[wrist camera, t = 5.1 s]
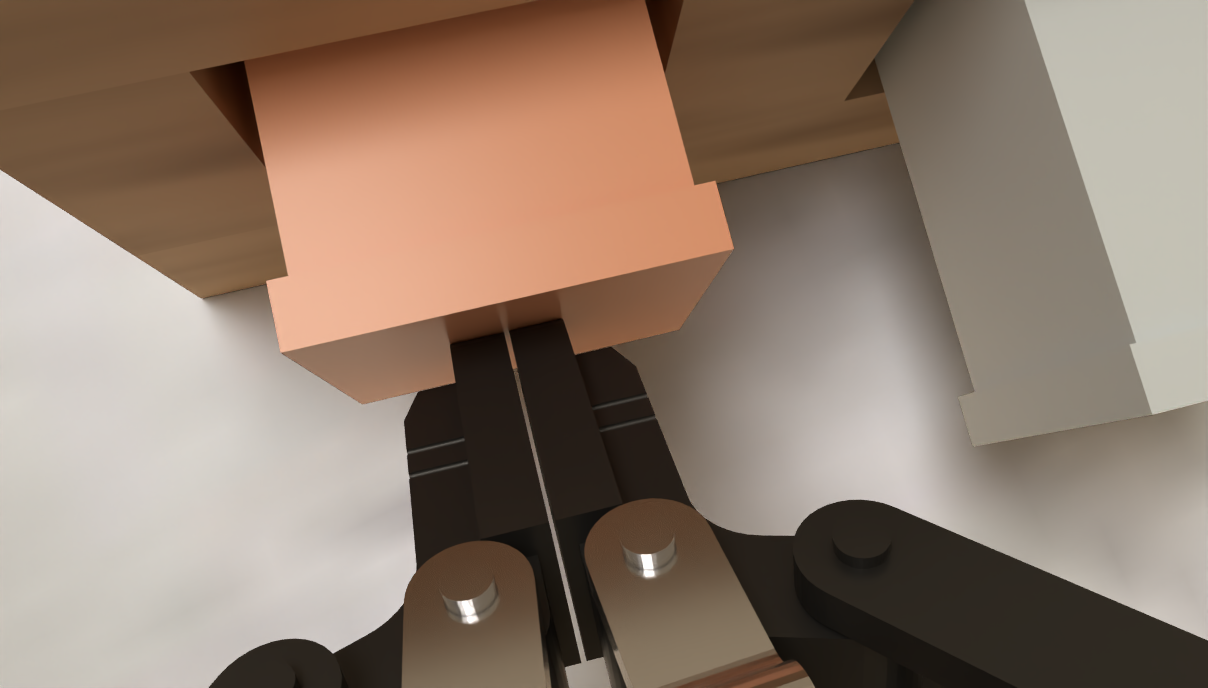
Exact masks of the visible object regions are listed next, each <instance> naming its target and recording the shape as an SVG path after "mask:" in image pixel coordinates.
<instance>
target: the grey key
mask: <svg viewBox="0 0 1208 688" xmlns="http://www.w3.org/2000/svg"><path fill="white" fill-rule="evenodd" d="M874 59H875V62H876V65H877V69H878V72H879V75H880V79H881V82H882V85H883V89H884V92H885V95H886V99H887V102H888V105H889V109H890V112H891V115H892V119H893V122H894V125H895V129H896V132H897V135H898V139H899V142H900V145H901V149H902V152H903V155H904V159H905V162H906V165H907V168H908V172H909V175H910V178H911V182H912V185H913V188H914V192H915V195H916V198H917V202H918V205H919V208H920V212H921V215H922V218H923V222H924V225H925V228H926V232H927V235H928V238H929V242H930V245H931V248H932V252H933V255H934V258H935V262H936V265H937V268H938V272H939V275H940V278H941V282H942V285H943V288H944V291H945V295H946V298H947V301H948V305H949V308H950V311H951V315H952V318H953V321H954V325H955V328H956V331H957V335H958V338H959V341H960V345H961V348H962V351H963V355H964V358H965V361H966V365H967V368H968V371H969V375H970V378H971V381H972V385H973V388H974V391H975V392H973V393H969V394H966V395H963V396H959V397H958V399H959V402H960V406H961V409H962V413H963V416H964V419H965V423H966V426H967V429H968V433H969V436H970V439H971V443H972V446H973V447H974V446H979V445H985V444H991V443H996V442H1002V441H1008V440H1013V439H1019V438H1025V437H1030V436H1036V435H1041V434H1047V433H1053V432H1058V431H1064V430H1070V429H1075V428H1081V427H1087V426H1092V425H1098V424H1103V423H1109V422H1115V421H1120V420H1126V419H1132V418H1137V417H1143V416H1149V415H1154V414H1158V413H1162V412H1166V411H1169V410H1173V409H1177V408H1181V407H1185V406H1189V405H1193V404H1197V403H1201V402H1205V401H1208V0H915V1H914V2H913V3H912V5H911V6H910V8H909V9H908V11H907V12H906V13H905V15H904V16H903V18H902V19H901V21H900V22H899V23H898V25H897V26H896V28H895V29H894V31H893V32H892V33H891V35H890V36H889V38H888V39H887V41H886V42H885V43H884V45H883V46H882V48H881V49H880V51H879V52H878V53H877V55H876V56H875V58H874Z"/></svg>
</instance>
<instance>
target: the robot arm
mask: <svg viewBox="0 0 1208 688" xmlns="http://www.w3.org/2000/svg"><path fill="white" fill-rule="evenodd" d="M509 334H510V338H511V343H512V347H513V352H514V356H515V360H516V365H517V369H518V373H519V378H520V382H521V387H522V391H523V395H524V400H525V404H526V409H527V413H528V417H529V422H530V426H531V431H532V435H533V439H534V443H535V448H536V452H537V456H538V461H539V465H540V469H541V473H542V477H543V481H544V486H545V490H546V494H547V498H548V502H549V506H550V510H551V515H552V519H553V523H554V527H555V531H556V535H557V540H558V544H559V548H560V552H561V556H562V560H563V564H564V569H565V573H566V577H567V581H568V585H569V589H570V594H571V598H572V602H573V606H574V610H575V614H576V618H577V623H578V627H579V631H580V635H581V639H582V643H583V648H584V652H585V656H586V660H587V661H589V660H593V659H596V658H600V657H604V659H605V663H606V667H607V671H608V675H609V679H610V683H611V687H612V688H1208V640H1205V639H1203V638H1201V637H1198V636H1196V635H1193V634H1191V633H1189V632H1186V631H1184V630H1182V629H1179V628H1177V627H1175V626H1172V625H1170V624H1168V623H1165V622H1163V621H1161V620H1158V619H1156V618H1154V617H1151V616H1149V615H1146V614H1144V613H1142V612H1139V611H1137V610H1135V609H1132V608H1130V607H1128V606H1125V605H1123V604H1121V603H1118V602H1116V601H1114V600H1111V599H1109V598H1107V597H1104V596H1102V595H1099V594H1097V593H1095V592H1092V591H1090V590H1088V589H1085V588H1083V587H1081V586H1078V585H1076V584H1074V583H1071V582H1069V581H1067V580H1064V579H1062V578H1060V577H1057V576H1055V575H1052V574H1050V573H1048V572H1045V571H1043V570H1041V569H1038V568H1036V567H1034V566H1031V565H1029V564H1027V563H1024V562H1022V561H1020V560H1017V559H1015V558H1013V557H1010V556H1008V555H1005V554H1003V553H1001V552H998V551H996V550H994V549H991V548H989V547H987V546H984V545H982V544H980V543H977V542H975V541H973V540H970V539H968V538H966V537H963V536H961V535H958V534H956V533H954V532H951V531H949V530H947V529H944V528H942V527H940V526H937V525H935V524H933V523H930V522H928V521H926V520H923V519H921V518H919V517H916V516H914V515H912V514H909V513H907V512H904V511H902V510H900V509H897V508H895V507H892V506H890V505H887V504H884V503H880V502H875V501H868V500H847V501H840V502H836V503H832V504H829V505H826V506H824V507H822V508H820V509H818V510H816V511H815V512H813V513H812V514H810V515H809V516H808V517H807V518H806V519H805V520H804V521H803V522H802V523H801V525H800V526H799V528H798V529H797V531H796V534H795V536H760V535H747V534H742V533H736V532H733V531H730V530H726V529H724V528H721V527H719V526H717V525H715V524H713V523H711V522H710V521H708V520H707V519H705V518H704V517H703V516H702V515H701V514H700V513H699V512H697V510H696V509H695V508H694V507H693V505H692V504H691V502H690V500H689V498H688V496H687V494H686V491H685V489H684V486H683V484H682V481H681V479H680V476H679V474H678V471H677V469H676V466H675V464H674V461H673V459H672V456H671V454H670V451H669V449H668V446H667V444H666V441H665V439H664V436H663V434H662V431H661V429H660V426H659V424H658V421H657V420H656V418H655V413H654V411H653V408H652V406H651V403H650V401H649V398H647V394H646V391H645V388H644V386H643V383H642V381H641V378H640V376H639V373H638V371H637V368H636V366H635V365H633V364H632V363H631V362H630V361H628V360H627V359H626V358H625V357H623V356H622V355H621V354H620V353H618V352H617V351H616V350H614V349H613V348H612V347H607V348H603V349H599V350H594V351H590V352H586V353H581V354H577V355H575V354H574V351H573V348H572V345H571V342H570V338H569V335H568V332H567V329H566V326H565V323H564V320H563V319H558V320H554V321H550V322H545V323H541V324H537V325H532V326H528V327H524V328H519V329H515V330H511V331H509ZM450 351H451V357H452V364H453V370H454V376H455V383H454V384H449V385H445V386H441V387H436V388H432V389H428V390H424V391H419V392H418V393H417V395H416V397H415V399H414V401H413V403H412V405H411V408H410V410H409V412H408V414H407V416H406V418H405V420H404V426H405V437H406V449H407V453H408V455H407V460H408V472H409V477H410V479H409V483H410V494H411V506H412V517H413V529H414V540H415V551H416V563H417V570H416V573H415V574H414V576H413V577H412V579H411V581H410V582H409V584H408V587H407V590H406V593H405V598H404V604H403V605H402V606H401V607H400V609H399V610H398V611H397V612H396V613H395V614H394V615H393V616H392V617H391V618H390V619H389V620H388V621H387V622H386V623H384V624H383V625H382V626H380V627H379V628H378V629H376V630H375V631H373V632H371V633H370V634H368V635H366V636H365V637H363V638H361V639H359V640H357V641H355V642H354V643H352V644H350V645H348V646H346V647H344V648H343V649H341V650H339V651H337V652H335V653H333V654H332V653H331V652H330V651H329V650H328V649H327V648H325V647H324V646H322V645H320V644H318V643H316V642H313V641H309V640H305V639H284V640H279V641H274V642H270V643H267V644H265V645H262V646H259V647H257V648H255V649H253V650H251V651H249V652H247V653H246V654H244V655H243V656H241V657H239V658H238V659H237V660H235V661H234V662H233V663H232V664H230V665H229V666H228V667H227V668H226V669H225V670H224V671H223V672H222V673H221V674H220V675H219V676H218V677H217V678H216V680H215V681H214V682H213V683H212V684H211V685H210V687H209V688H569V685H568V680H567V676H566V671H565V667H567V666H571V665H575V664H579V663H581V660H580V655H579V651H578V647H577V642H576V638H575V634H574V629H573V625H572V621H571V616H570V612H569V608H568V603H567V599H566V595H565V590H564V586H563V582H562V577H561V573H560V568H559V564H558V560H557V555H556V551H555V547H554V542H553V538H552V534H551V529H550V525H549V521H548V516H547V512H546V508H545V504H544V499H543V495H542V491H541V487H540V483H539V478H538V474H537V470H536V466H535V461H534V457H533V453H532V449H531V444H530V440H529V436H528V432H527V427H526V423H525V419H524V415H523V410H522V406H521V402H520V398H519V393H518V389H517V385H516V381H515V376H514V372H513V368H512V364H511V359H510V355H509V351H508V347H507V343H506V338H505V334H504V332H503V333H498V334H494V335H490V336H485V337H481V338H477V339H472V340H468V341H464V342H459V343H455V344H450Z"/></svg>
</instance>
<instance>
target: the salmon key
mask: <svg viewBox="0 0 1208 688" xmlns="http://www.w3.org/2000/svg"><path fill="white" fill-rule="evenodd" d="M244 63H245V68H246V73H247V77H248V82H249V87H250V92H251V97H252V102H253V107H254V112H255V116H256V121H257V126H258V131H259V136H260V141H261V146H262V151H263V155H264V160H265V165H266V170H267V175H268V180H269V185H270V190H271V194H272V199H273V204H274V209H275V214H276V219H277V224H278V229H279V233H280V238H281V243H282V248H283V253H284V258H285V263H286V268H287V272H288V276H286V277H281V278H277V279H272V280H268V281H266V283H267V288H268V293H269V298H270V303H271V308H272V313H273V318H274V323H275V328H276V333H277V338H278V343H279V347H280V352H281V353H282V354H283V355H285V356H286V357H288V358H290V359H291V360H293V361H294V362H296V363H298V364H299V365H301V366H302V367H304V368H305V369H307V370H309V371H310V372H312V373H313V374H315V375H317V376H318V377H320V378H321V379H323V380H325V381H326V382H328V383H329V384H331V385H333V386H334V387H336V388H337V389H339V390H340V391H342V392H344V393H345V394H347V395H348V396H350V397H352V398H353V399H355V400H356V401H358V402H360V403H361V404H366V403H370V402H375V401H379V400H383V399H387V398H392V397H396V396H400V395H404V394H409V393H413V392H417V391H421V390H426V389H430V388H434V387H438V386H443V385H447V384H451V383H455V376H454V370H453V364H452V357H451V351H450V344H455V343H459V342H464V341H468V340H472V339H477V338H481V337H485V336H490V335H494V334H498V333H503V332H504V334H505V338H506V343H507V347H508V351H509V355H510V359H511V364H512V368H513V369H515V368H517V365H516V360H515V356H514V352H513V347H512V343H511V338H510V334H509V331H511V330H515V329H519V328H524V327H528V326H532V325H537V324H541V323H545V322H550V321H554V320H558V319H563V320H564V323H565V326H566V329H567V332H568V335H569V338H570V342H571V345H572V348H573V351H574V354H579V353H583V352H587V351H591V350H596V349H600V348H604V347H608V346H613V345H617V344H621V343H625V342H630V341H634V340H638V339H642V338H647V337H651V336H655V335H659V334H664V333H668V332H672V331H676V330H679V329H680V328H681V326H682V325H683V323H684V322H685V321H686V319H687V318H688V316H689V315H690V313H691V312H692V310H693V309H694V307H695V306H696V304H697V303H698V301H699V300H700V298H701V297H702V295H703V294H704V292H705V291H706V290H707V288H708V287H709V285H710V284H711V282H712V281H713V279H714V278H715V276H716V275H717V273H718V272H719V270H720V269H721V267H722V266H723V264H724V263H725V261H726V260H727V258H728V257H729V256H730V254H731V253H732V251H733V250H734V247H733V243H732V240H731V236H730V232H729V229H728V225H727V221H726V217H725V214H724V210H723V206H722V203H721V199H720V195H719V192H718V188H717V184H716V181H712V182H707V183H703V184H698V185H694V182H693V178H692V174H691V171H690V167H689V163H688V159H687V156H686V152H685V148H684V145H683V141H682V137H681V133H680V130H679V126H678V122H677V118H676V115H675V111H674V107H673V104H672V100H671V96H670V92H669V89H668V85H667V81H666V77H665V74H664V70H663V66H662V63H661V59H660V55H659V51H658V48H657V44H656V40H655V36H654V33H653V29H652V25H651V22H650V18H649V14H648V10H647V7H646V3H645V0H538V1H533V2H528V3H523V4H518V5H513V6H508V7H504V8H499V9H494V10H489V11H484V12H479V13H474V14H469V15H464V16H460V17H455V18H450V19H445V20H440V21H435V22H430V23H425V24H420V25H416V26H411V27H406V28H401V29H396V30H391V31H386V32H381V33H376V34H371V35H367V36H362V37H357V38H352V39H347V40H342V41H337V42H332V43H327V44H323V45H318V46H313V47H308V48H303V49H298V50H293V51H288V52H283V53H279V54H274V55H269V56H264V57H259V58H254V59H249V60H244Z"/></svg>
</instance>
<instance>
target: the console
mask: <svg viewBox="0 0 1208 688" xmlns="http://www.w3.org/2000/svg"><path fill="white" fill-rule="evenodd" d="M533 1H538V0H0V170H2V171H3V172H5V173H6V174H8V175H9V176H11V177H13V178H14V179H16V180H17V181H19V182H20V183H22V184H24V185H25V186H27V187H28V188H30V189H31V190H33V191H34V192H36V193H38V194H39V195H41V196H42V197H44V198H45V199H47V200H48V201H50V202H52V203H53V204H55V205H56V206H58V207H59V208H61V209H62V210H64V211H66V212H67V213H69V214H70V215H72V216H73V217H75V218H76V219H78V220H80V221H81V222H83V223H84V224H86V225H87V226H89V227H91V228H92V229H94V230H95V231H97V232H98V233H100V234H101V235H103V236H105V237H106V238H108V239H109V240H111V241H112V242H114V243H115V244H117V245H119V246H120V247H122V248H123V249H125V250H126V251H128V252H129V253H131V254H133V255H134V256H136V257H137V258H139V259H140V260H142V261H144V262H145V263H147V264H148V265H150V266H151V267H153V268H154V269H156V270H158V271H159V272H161V273H162V274H164V275H165V276H167V277H168V278H170V279H172V280H173V281H175V282H176V283H178V284H179V285H181V286H182V287H184V288H186V289H187V290H189V291H190V292H192V293H193V294H195V295H197V296H198V297H200V298H206V297H210V296H214V295H219V294H223V293H228V292H232V291H237V290H241V289H246V288H250V287H255V286H259V285H264V284H267V283H266V281H268V280H272V279H277V278H281V277H286V276H288V272H287V268H286V263H285V258H284V253H283V248H282V243H281V238H280V233H279V229H278V224H277V219H276V214H275V209H274V204H273V199H272V194H271V190H270V185H269V180H268V175H267V170H266V165H265V160H264V155H263V151H262V146H261V141H260V136H259V131H258V126H257V121H256V116H255V112H254V107H253V102H252V97H251V92H250V87H249V82H248V77H247V73H246V68H245V63H244V60H249V59H254V58H259V57H264V56H269V55H274V54H279V53H283V52H288V51H293V50H298V49H303V48H308V47H313V46H318V45H323V44H327V43H332V42H337V41H342V40H347V39H352V38H357V37H362V36H367V35H371V34H376V33H381V32H386V31H391V30H396V29H401V28H406V27H411V26H416V25H420V24H425V23H430V22H435V21H440V20H445V19H450V18H455V17H460V16H464V15H469V14H474V13H479V12H484V11H489V10H494V9H499V8H504V7H508V6H513V5H518V4H523V3H528V2H533ZM914 1H915V0H645V3H646V7H647V10H648V14H649V18H650V22H651V25H652V29H653V33H654V36H655V40H656V44H657V48H658V51H659V55H660V59H661V63H662V66H663V70H664V74H665V77H666V81H667V85H668V89H669V92H670V96H671V100H672V104H673V107H674V111H675V115H676V118H677V122H678V126H679V130H680V133H681V137H682V141H683V145H684V148H685V152H686V156H687V159H688V163H689V167H690V171H691V174H692V178H693V182H694V185H698V184H703V183H707V182H712V181H716V183H720V182H725V181H729V180H734V179H738V178H743V177H747V176H752V175H756V174H761V173H765V172H770V171H774V170H779V169H783V168H788V167H792V166H797V165H801V164H806V163H810V162H814V161H819V160H823V159H828V158H832V157H837V156H841V155H846V154H850V153H855V152H859V151H864V150H868V149H873V148H877V147H882V146H886V145H891V144H895V143H900V142H899V139H898V135H897V132H896V129H895V125H894V122H893V119H892V115H891V112H890V109H889V105H888V102H887V99H886V95H885V92H884V89H883V85H882V82H881V79H880V75H879V72H878V69H877V65H876V62H875V59H874V58H875V56H876V55H877V53H878V52H879V51H880V49H881V48H882V46H883V45H884V43H885V42H886V41H887V39H888V38H889V36H890V35H891V33H892V32H893V31H894V29H895V28H896V26H897V25H898V23H899V22H900V21H901V19H902V18H903V16H904V15H905V13H906V12H907V11H908V9H909V8H910V6H911V5H912V3H913V2H914Z"/></svg>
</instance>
